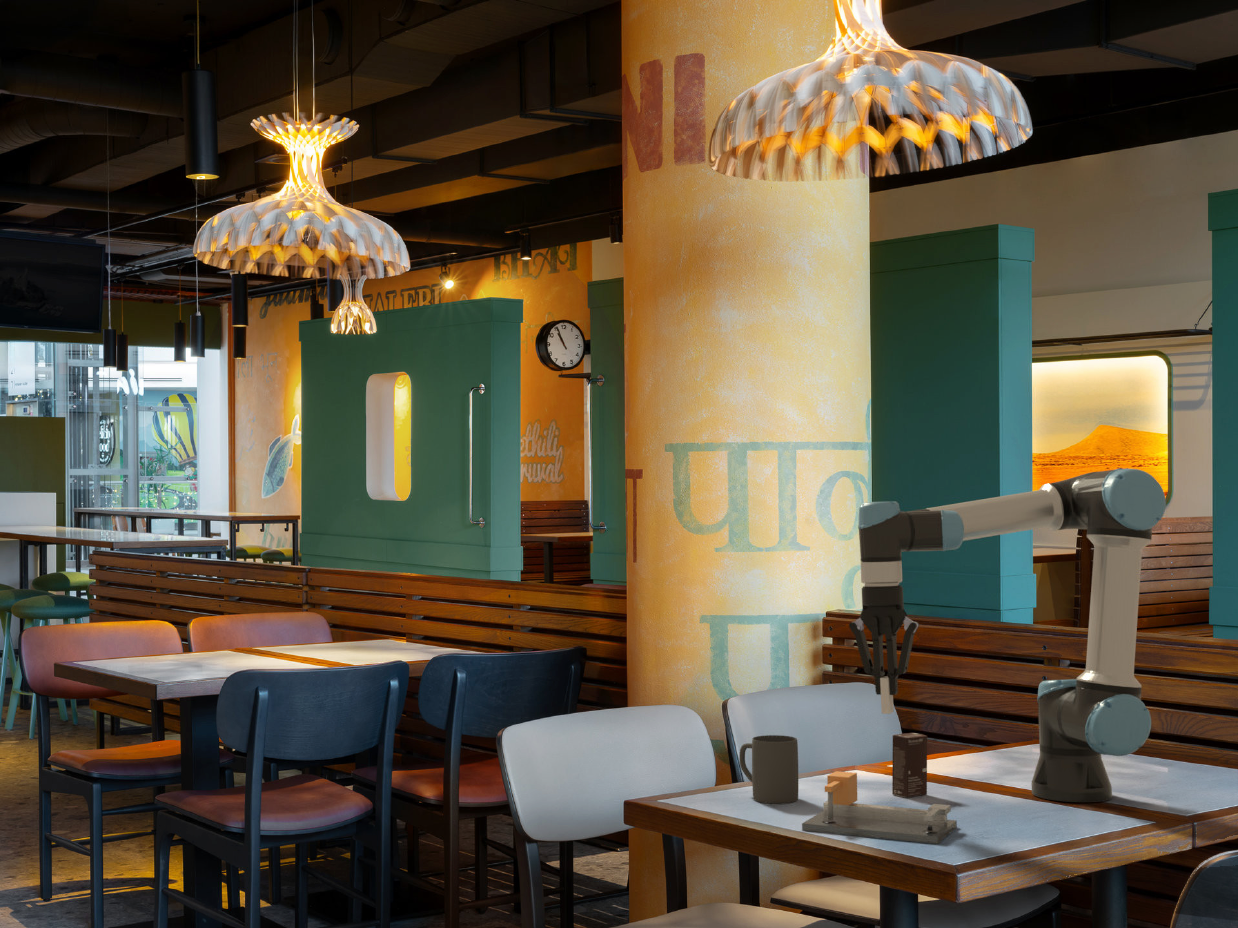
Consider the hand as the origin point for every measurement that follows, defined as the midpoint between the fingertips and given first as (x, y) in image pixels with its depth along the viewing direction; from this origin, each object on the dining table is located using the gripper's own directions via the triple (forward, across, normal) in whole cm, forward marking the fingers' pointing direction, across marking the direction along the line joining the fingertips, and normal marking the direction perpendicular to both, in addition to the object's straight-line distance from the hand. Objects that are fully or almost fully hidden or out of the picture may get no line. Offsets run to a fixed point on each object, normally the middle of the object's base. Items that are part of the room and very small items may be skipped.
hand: (887, 712), depth 235 cm
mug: (+19, +28, -9) cm, 35 cm away
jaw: (+17, +8, +8) cm, 21 cm away
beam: (+18, 0, +9) cm, 20 cm away
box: (+20, +3, -24) cm, 31 cm away
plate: (+19, 0, +8) cm, 21 cm away
